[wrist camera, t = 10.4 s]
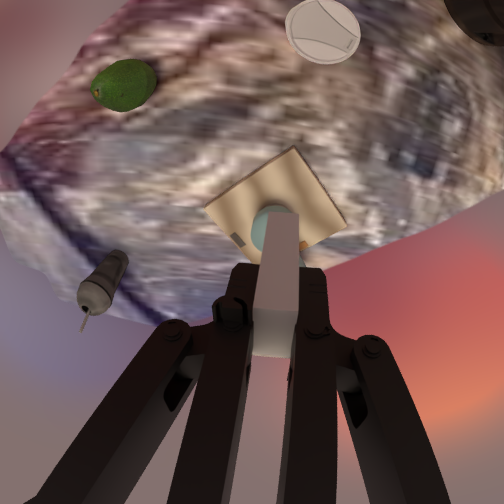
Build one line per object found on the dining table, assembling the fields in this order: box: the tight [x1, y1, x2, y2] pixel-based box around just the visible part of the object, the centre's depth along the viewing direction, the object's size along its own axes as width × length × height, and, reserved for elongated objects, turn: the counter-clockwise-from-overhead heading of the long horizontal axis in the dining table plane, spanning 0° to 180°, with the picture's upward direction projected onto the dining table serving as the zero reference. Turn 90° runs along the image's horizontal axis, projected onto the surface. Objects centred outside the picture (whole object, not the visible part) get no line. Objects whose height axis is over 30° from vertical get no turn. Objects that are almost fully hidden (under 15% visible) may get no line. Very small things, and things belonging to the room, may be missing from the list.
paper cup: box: [285, 0, 361, 64], centre depth 29 cm, size 8×8×14 cm
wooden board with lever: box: [204, 146, 347, 264], centre depth 50 cm, size 18×16×4 cm
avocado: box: [90, 59, 157, 112], centre depth 35 cm, size 8×8×12 cm
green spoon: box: [251, 206, 306, 267], centre depth 49 cm, size 14×7×3 cm, turn 29°
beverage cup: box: [77, 250, 129, 333], centre depth 53 cm, size 7×7×20 cm
